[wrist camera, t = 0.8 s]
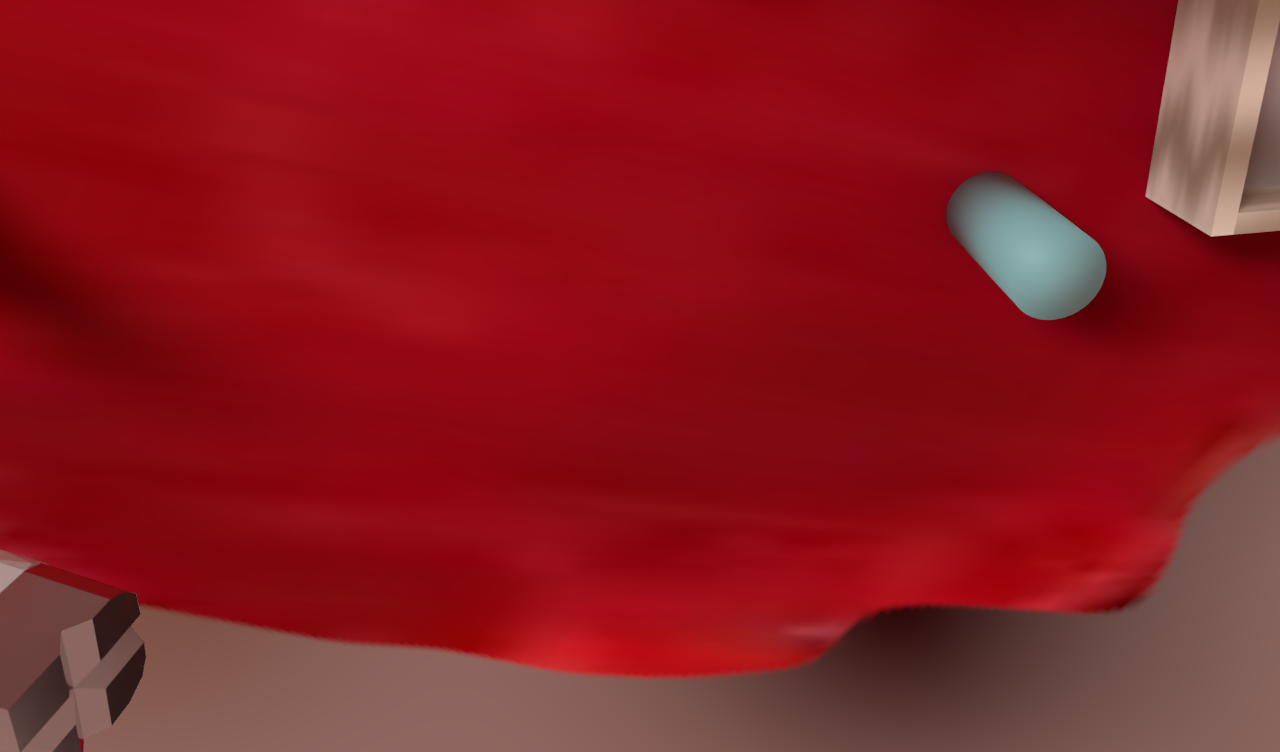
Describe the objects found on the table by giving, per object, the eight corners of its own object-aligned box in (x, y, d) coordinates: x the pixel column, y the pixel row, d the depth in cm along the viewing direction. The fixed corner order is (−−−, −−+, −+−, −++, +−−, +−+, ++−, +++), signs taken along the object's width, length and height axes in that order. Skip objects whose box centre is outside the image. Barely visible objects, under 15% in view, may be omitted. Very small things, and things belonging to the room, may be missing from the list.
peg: (948, 175, 47) (1015, 236, 39) (1029, 167, 47) (1112, 227, 39) (943, 251, 49) (1006, 323, 41) (1021, 244, 49) (1099, 315, 41)
